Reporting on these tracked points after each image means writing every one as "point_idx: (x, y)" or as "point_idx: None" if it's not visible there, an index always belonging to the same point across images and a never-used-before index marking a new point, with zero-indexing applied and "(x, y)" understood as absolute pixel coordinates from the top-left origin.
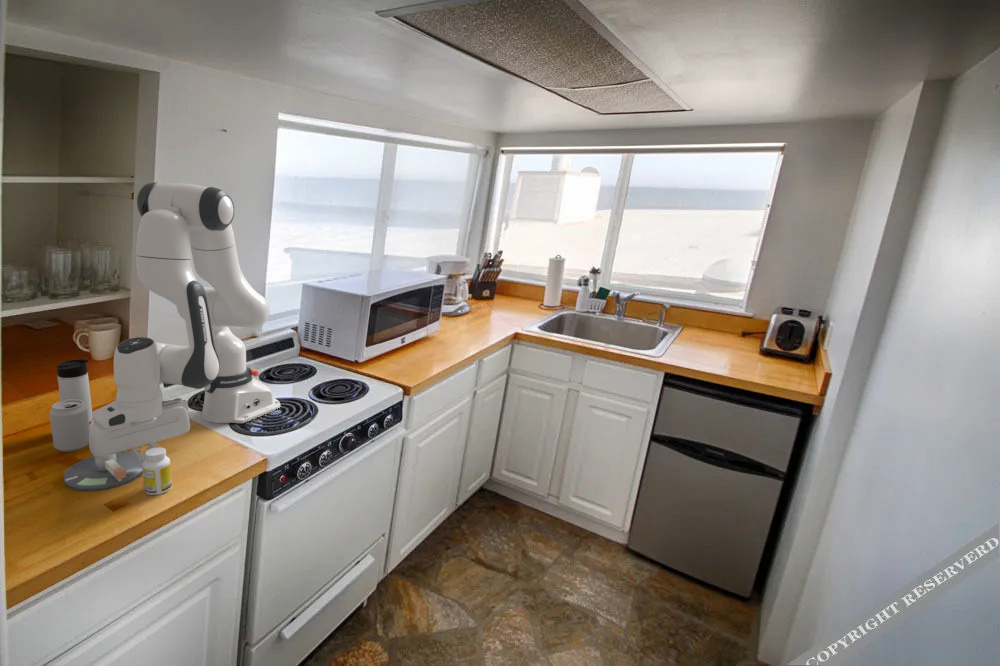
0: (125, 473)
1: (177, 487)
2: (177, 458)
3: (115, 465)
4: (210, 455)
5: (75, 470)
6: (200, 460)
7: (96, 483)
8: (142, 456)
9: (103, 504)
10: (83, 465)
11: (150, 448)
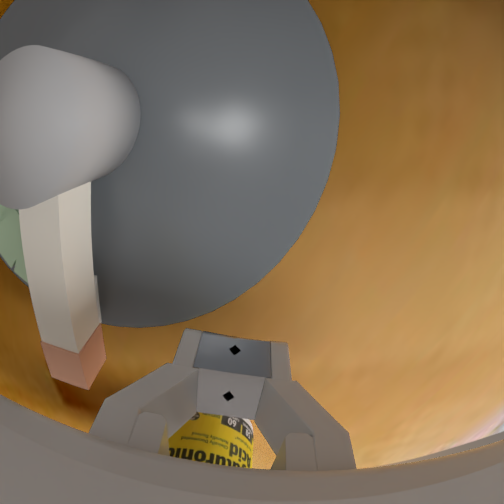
0: (96, 373)
1: (255, 447)
2: (436, 273)
3: (52, 307)
4: (489, 346)
5: (7, 47)
6: (449, 358)
7: (17, 263)
8: (200, 407)
9: (43, 359)
10: (47, 8)
11: (276, 438)
